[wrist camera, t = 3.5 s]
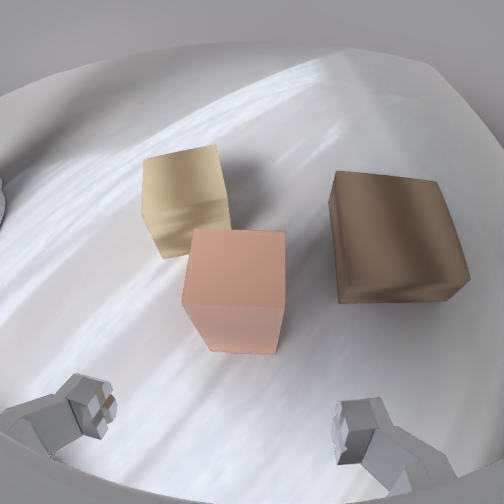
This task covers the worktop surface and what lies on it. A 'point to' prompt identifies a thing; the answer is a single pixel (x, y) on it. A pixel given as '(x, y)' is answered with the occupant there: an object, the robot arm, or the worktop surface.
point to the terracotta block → (236, 289)
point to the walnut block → (393, 240)
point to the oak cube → (183, 198)
